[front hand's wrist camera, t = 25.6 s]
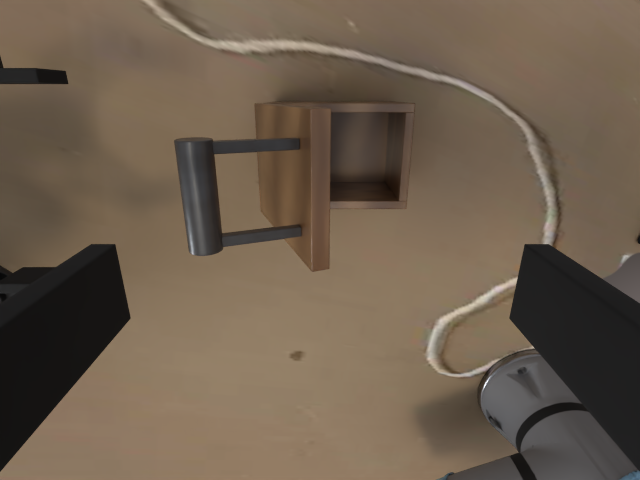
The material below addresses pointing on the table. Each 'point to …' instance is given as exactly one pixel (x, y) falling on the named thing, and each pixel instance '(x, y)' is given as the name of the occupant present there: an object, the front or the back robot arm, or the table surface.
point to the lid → (266, 183)
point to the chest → (368, 153)
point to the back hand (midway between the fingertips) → (79, 188)
